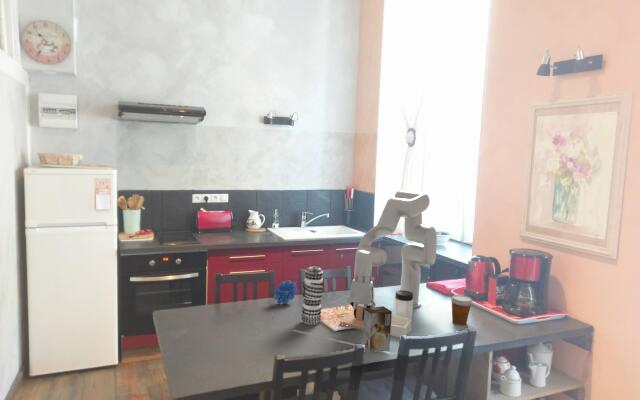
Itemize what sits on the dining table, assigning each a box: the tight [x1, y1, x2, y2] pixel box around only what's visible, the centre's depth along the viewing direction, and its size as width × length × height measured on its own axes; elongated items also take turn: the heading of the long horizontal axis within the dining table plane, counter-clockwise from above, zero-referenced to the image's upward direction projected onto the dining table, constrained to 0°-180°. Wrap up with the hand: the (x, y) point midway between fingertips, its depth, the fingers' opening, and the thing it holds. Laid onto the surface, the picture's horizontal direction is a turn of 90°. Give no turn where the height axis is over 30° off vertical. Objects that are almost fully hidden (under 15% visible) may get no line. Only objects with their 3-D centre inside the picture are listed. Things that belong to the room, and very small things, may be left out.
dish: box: [390, 314, 413, 338], centre depth 204 cm, size 12×12×5 cm
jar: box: [392, 290, 414, 320], centre depth 222 cm, size 9×8×12 cm
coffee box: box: [361, 306, 393, 354], centre depth 185 cm, size 9×6×16 cm
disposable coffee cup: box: [450, 294, 473, 326], centre depth 219 cm, size 10×10×12 cm
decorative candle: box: [301, 265, 325, 326], centre depth 208 cm, size 9×9×25 cm
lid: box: [339, 304, 364, 329], centre depth 211 cm, size 14×14×7 cm
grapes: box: [273, 279, 298, 305], centre depth 232 cm, size 12×7×12 cm, turn 110°
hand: (360, 317), depth 211 cm, fingers closed on lid, 3 cm apart
